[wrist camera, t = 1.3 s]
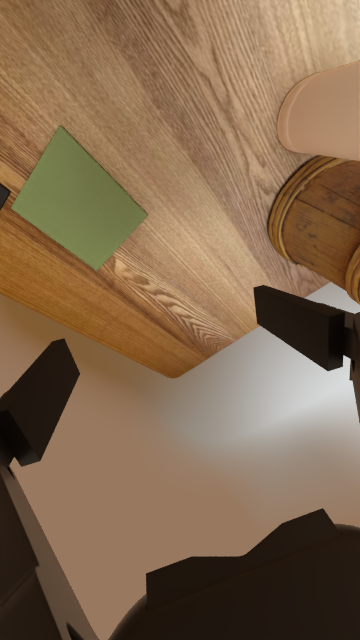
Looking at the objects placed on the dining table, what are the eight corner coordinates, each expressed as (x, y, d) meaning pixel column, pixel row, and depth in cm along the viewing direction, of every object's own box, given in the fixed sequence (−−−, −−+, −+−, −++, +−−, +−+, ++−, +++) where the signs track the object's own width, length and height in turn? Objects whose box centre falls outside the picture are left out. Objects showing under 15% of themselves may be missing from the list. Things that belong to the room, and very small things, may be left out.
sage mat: (12, 207, 34) (10, 208, 34) (61, 125, 29) (59, 125, 28) (97, 269, 42) (96, 270, 42) (147, 214, 37) (147, 215, 37)
